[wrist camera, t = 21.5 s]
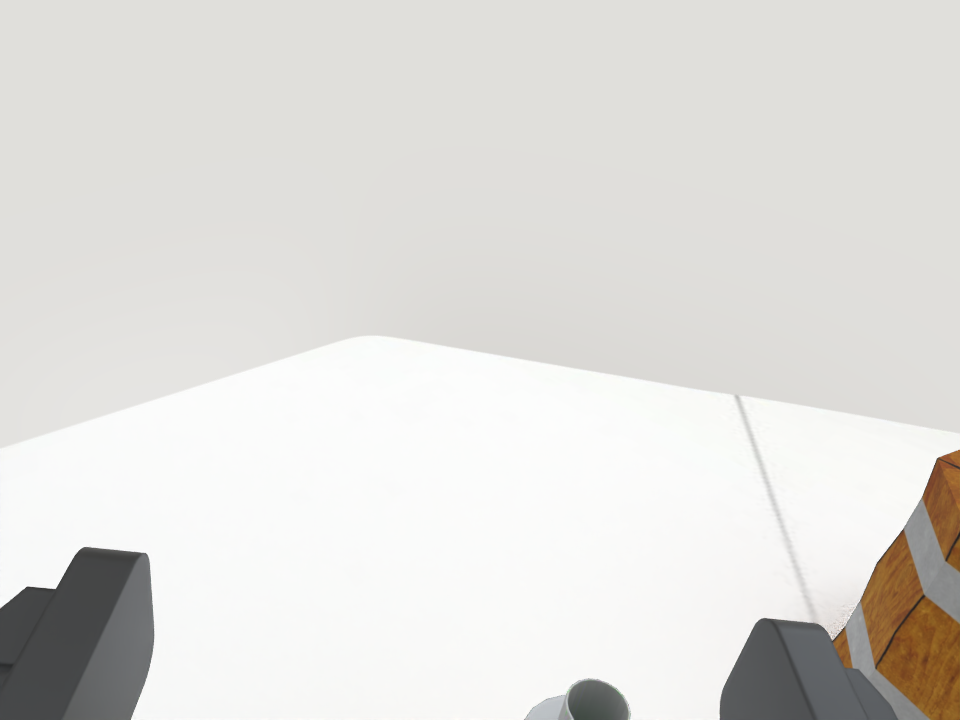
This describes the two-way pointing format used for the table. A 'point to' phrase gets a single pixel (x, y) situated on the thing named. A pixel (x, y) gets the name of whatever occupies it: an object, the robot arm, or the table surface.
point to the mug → (915, 608)
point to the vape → (584, 703)
